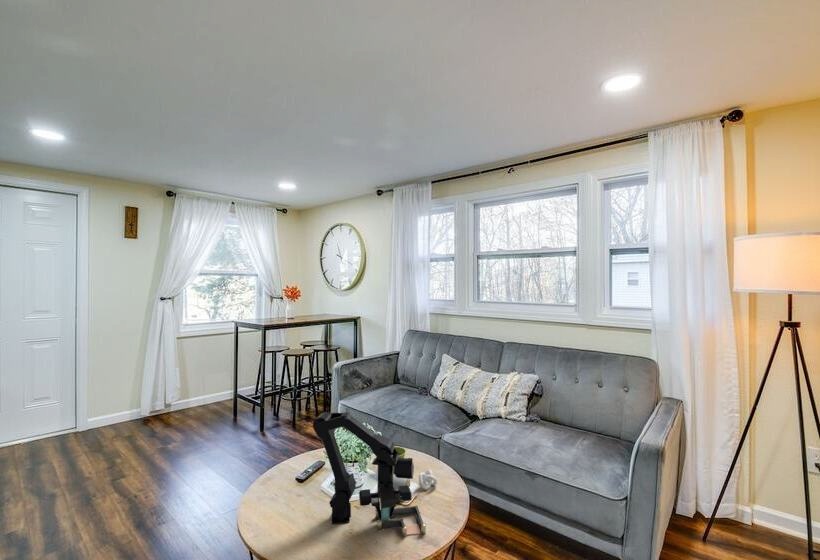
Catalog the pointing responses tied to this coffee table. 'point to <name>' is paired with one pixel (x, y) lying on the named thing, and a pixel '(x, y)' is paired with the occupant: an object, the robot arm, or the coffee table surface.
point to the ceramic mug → (400, 482)
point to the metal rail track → (400, 520)
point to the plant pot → (401, 452)
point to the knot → (427, 479)
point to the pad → (413, 529)
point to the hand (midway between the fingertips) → (385, 518)
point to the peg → (385, 513)
